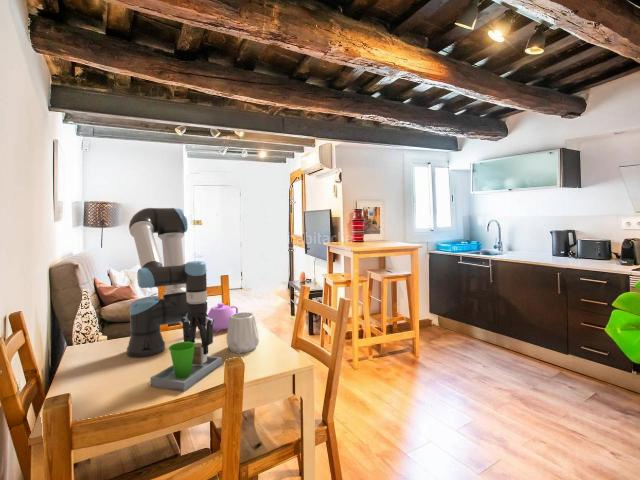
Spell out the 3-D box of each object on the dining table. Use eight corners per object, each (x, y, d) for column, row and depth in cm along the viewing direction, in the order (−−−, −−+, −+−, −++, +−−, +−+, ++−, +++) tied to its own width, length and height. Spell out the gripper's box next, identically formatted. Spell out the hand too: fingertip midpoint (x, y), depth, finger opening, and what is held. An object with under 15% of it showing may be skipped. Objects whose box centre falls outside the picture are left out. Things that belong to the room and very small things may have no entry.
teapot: (201, 337, 168) (200, 310, 167) (194, 329, 181) (193, 303, 180) (244, 329, 179) (243, 303, 179) (234, 322, 192) (234, 298, 192)
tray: (150, 386, 118) (150, 377, 118) (192, 361, 139) (191, 353, 139) (184, 391, 114) (184, 382, 114) (222, 365, 135) (221, 357, 135)
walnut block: (197, 360, 134) (197, 342, 134) (206, 361, 133) (205, 343, 133) (190, 364, 130) (190, 346, 130) (199, 365, 129) (199, 347, 129)
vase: (229, 356, 143) (228, 321, 142) (224, 345, 156) (223, 313, 155) (262, 351, 149) (261, 317, 148) (254, 341, 162) (254, 309, 161)
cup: (201, 370, 127) (200, 342, 127) (188, 382, 118) (187, 351, 118) (178, 369, 129) (178, 340, 128) (164, 380, 120) (163, 350, 119)
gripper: (171, 302, 130) (173, 363, 131) (210, 305, 125) (212, 367, 126) (184, 298, 137) (186, 355, 138) (221, 300, 132) (223, 360, 133)
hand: (198, 361), depth 132 cm, fingers closed on walnut block, 4 cm apart
